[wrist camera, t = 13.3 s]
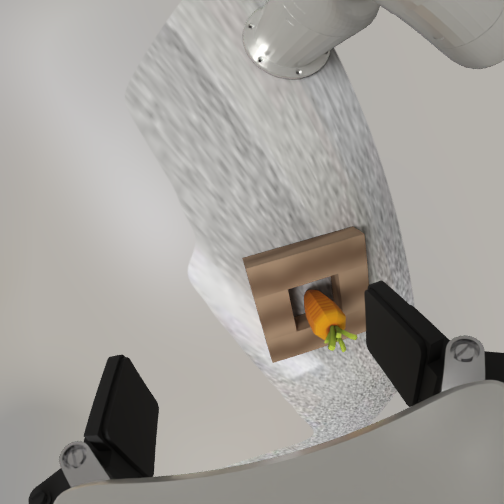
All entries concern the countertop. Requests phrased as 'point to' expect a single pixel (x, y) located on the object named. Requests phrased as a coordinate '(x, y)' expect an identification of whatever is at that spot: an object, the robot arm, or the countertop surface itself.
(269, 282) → the socket block
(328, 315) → the carrot
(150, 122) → the countertop surface
